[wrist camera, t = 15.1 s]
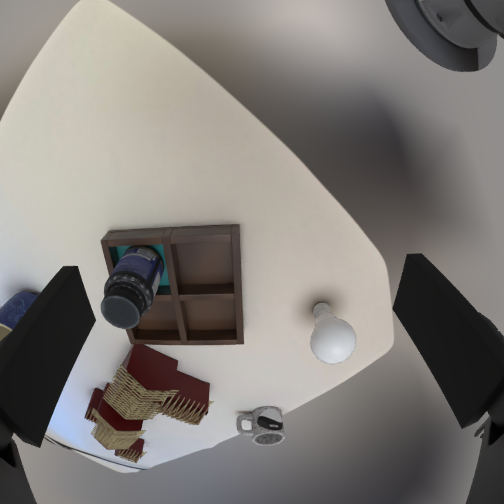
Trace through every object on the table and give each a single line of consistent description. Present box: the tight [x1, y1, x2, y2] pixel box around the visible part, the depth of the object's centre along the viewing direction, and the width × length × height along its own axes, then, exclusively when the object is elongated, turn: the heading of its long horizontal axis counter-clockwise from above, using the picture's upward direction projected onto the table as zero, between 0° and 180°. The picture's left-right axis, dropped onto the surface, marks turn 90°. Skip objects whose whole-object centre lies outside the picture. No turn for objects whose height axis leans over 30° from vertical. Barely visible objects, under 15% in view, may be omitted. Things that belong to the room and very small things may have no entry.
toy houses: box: [84, 344, 214, 463], centre depth 52 cm, size 45×20×10 cm, turn 146°
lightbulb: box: [310, 303, 357, 364], centre depth 40 cm, size 6×6×11 cm
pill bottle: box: [101, 245, 164, 329], centre depth 34 cm, size 6×6×11 cm
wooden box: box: [101, 225, 244, 345], centre depth 41 cm, size 18×18×3 cm
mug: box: [237, 406, 285, 446], centre depth 55 cm, size 10×7×7 cm, turn 75°
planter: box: [0, 292, 38, 341], centre depth 39 cm, size 12×12×11 cm
